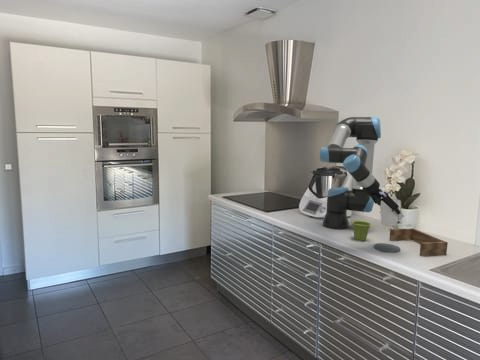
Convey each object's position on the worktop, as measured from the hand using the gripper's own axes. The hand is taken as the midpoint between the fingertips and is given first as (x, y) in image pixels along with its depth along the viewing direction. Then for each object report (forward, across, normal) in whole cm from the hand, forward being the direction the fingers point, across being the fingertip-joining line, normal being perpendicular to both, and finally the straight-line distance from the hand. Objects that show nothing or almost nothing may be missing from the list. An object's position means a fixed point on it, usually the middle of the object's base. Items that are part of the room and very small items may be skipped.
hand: (395, 215), depth 170 cm
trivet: (+9, 0, -14) cm, 17 cm away
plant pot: (+6, -16, -18) cm, 24 cm away
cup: (+1, 0, -6) cm, 6 cm away
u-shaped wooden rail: (+21, 0, -2) cm, 21 cm away
